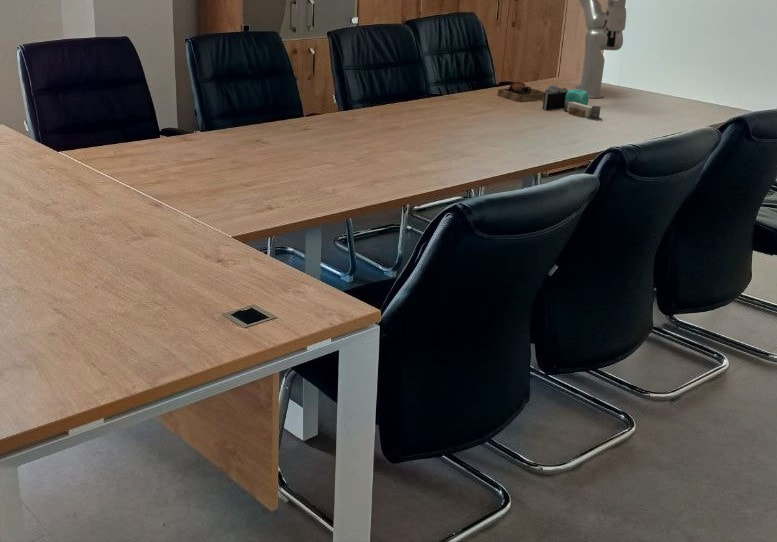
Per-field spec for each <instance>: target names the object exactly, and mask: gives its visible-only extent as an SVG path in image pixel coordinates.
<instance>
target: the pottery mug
mask: <svg viewBox="0 0 777 542" xmlns="http://www.w3.org/2000/svg"><path fill="white" fill-rule="evenodd" d="M531 88H532V87H530V86H528V85H526V84H525V83H523V82H520V81H519V82H516V81H515V82H512V83H510V84H509V87H508V91H509V90H510V91H512V92H514V93H516V94H519V95H529V94H530V93H531ZM527 91H528V92H527Z"/></svg>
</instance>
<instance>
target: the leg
mask: <svg viewBox="0 0 777 542" xmlns="http://www.w3.org/2000/svg"><path fill="white" fill-rule="evenodd" d="M569 107H575V108H578V109H582V110H585V114H584V117H586V118H588V117H591V110H592V106H591V105H584V104H580V103H577V102H573V101H569V100H566V101H565V105H564V108H563V111H564V112H569Z"/></svg>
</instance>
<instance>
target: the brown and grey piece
mask: <svg viewBox="0 0 777 542" xmlns="http://www.w3.org/2000/svg"><path fill="white" fill-rule="evenodd" d="M591 107H592V110H591V117H587V119H588V120H591V121H602V120H603V118H601V117H600V114H601V109H602V108H601V106H599V105H598V106H597V105H592V106H591ZM571 114H572V116H575V117H578V116H579V118H581V117H582V118H585V116H584V114H585V110H582V109H578V108H575V107H569V111H568V115H571Z"/></svg>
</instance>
